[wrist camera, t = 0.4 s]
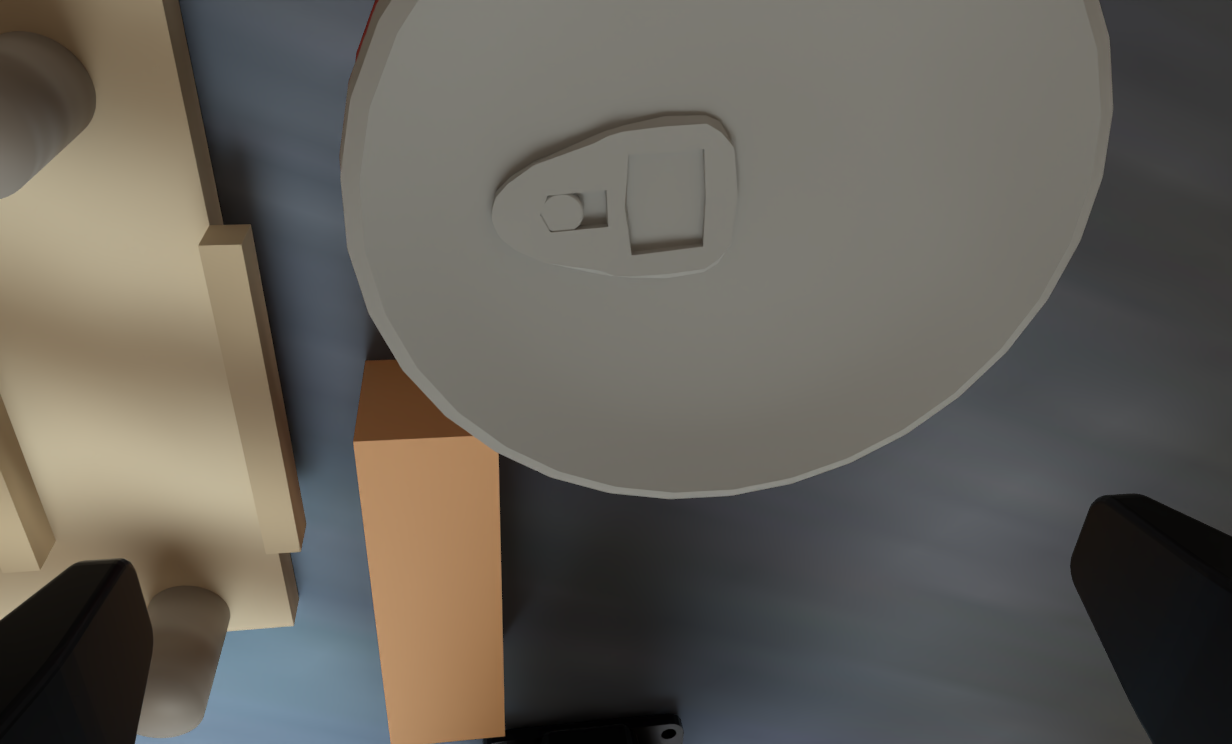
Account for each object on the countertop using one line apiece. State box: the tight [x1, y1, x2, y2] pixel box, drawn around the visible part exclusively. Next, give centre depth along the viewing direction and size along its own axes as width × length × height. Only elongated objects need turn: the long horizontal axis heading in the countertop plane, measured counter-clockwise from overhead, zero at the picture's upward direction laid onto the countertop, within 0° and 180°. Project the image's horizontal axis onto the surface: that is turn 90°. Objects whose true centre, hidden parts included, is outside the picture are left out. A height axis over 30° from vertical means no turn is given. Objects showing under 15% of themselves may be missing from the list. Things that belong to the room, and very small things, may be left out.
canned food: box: [339, 0, 1113, 499], centre depth 14 cm, size 8×8×11 cm
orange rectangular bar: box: [353, 360, 505, 744], centre depth 24 cm, size 10×3×4 cm, turn 177°
